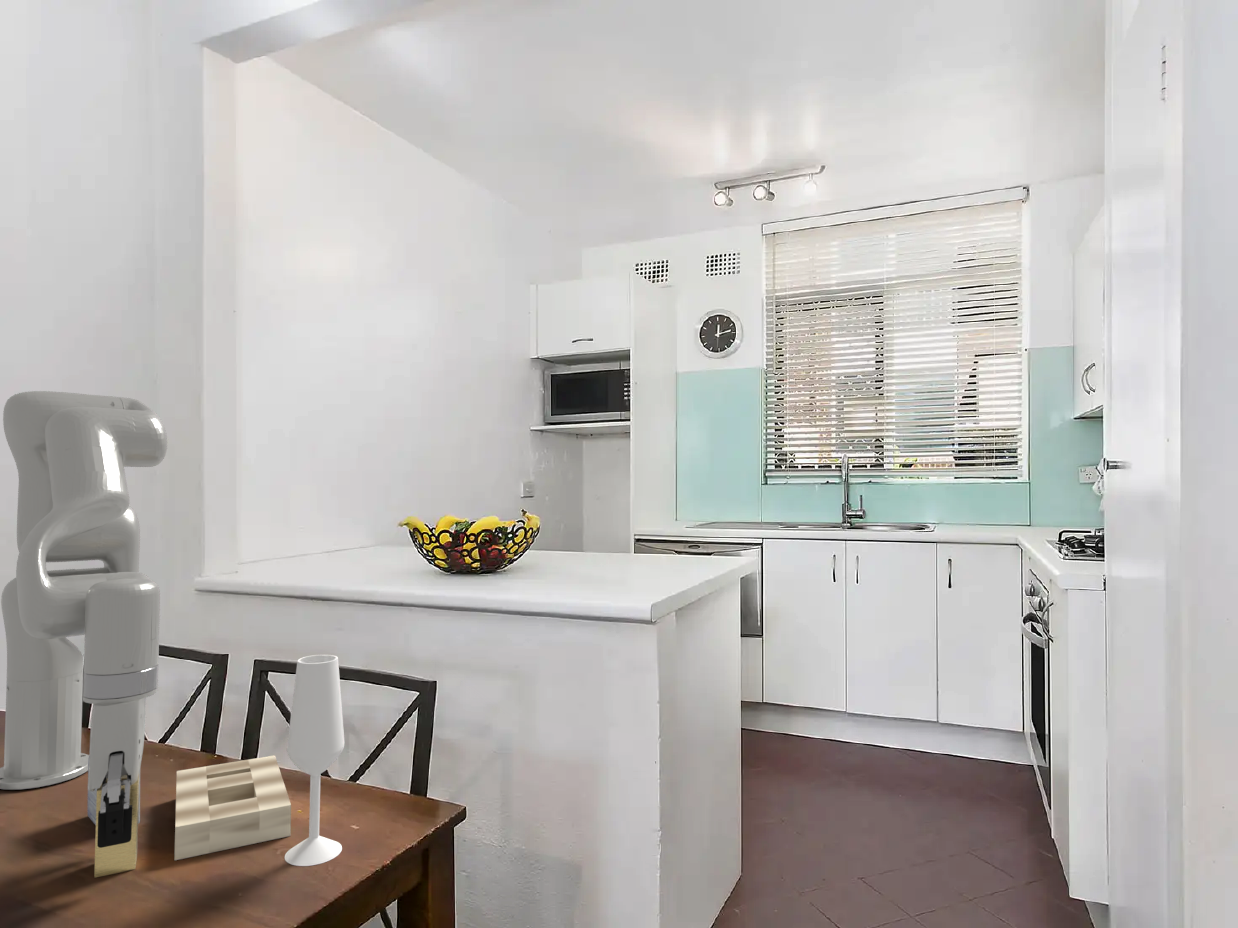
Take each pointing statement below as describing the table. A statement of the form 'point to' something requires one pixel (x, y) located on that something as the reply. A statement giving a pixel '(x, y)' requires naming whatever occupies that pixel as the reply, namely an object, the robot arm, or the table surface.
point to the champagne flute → (315, 745)
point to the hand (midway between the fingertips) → (117, 826)
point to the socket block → (230, 806)
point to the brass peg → (120, 854)
